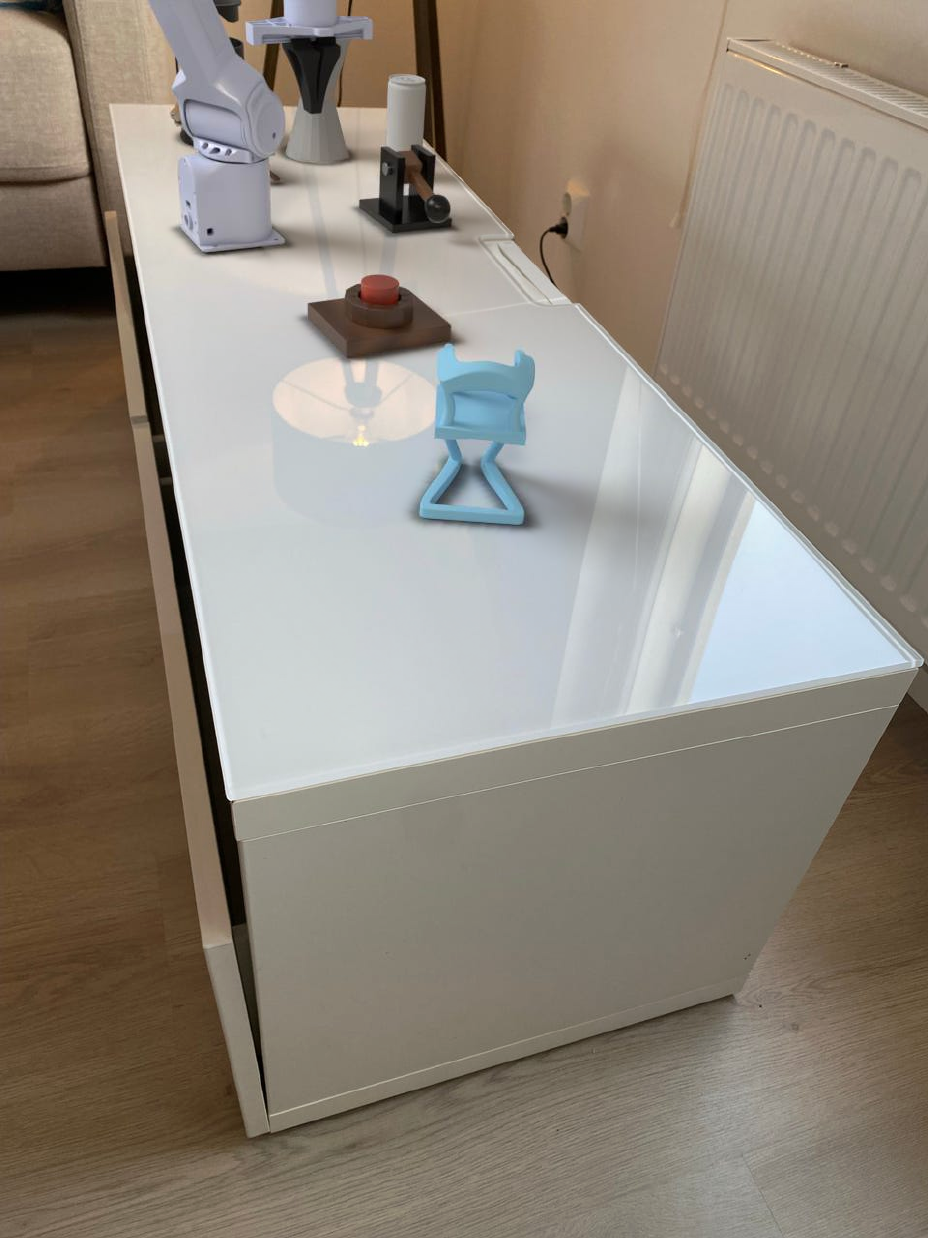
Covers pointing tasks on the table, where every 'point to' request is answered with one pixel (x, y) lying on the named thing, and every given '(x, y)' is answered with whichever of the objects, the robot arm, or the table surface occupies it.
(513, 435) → the chair
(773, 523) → the table surface
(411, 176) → the lever
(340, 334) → the button block
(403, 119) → the beverage can
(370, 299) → the button
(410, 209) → the bracket
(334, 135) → the grey hourglass vase
